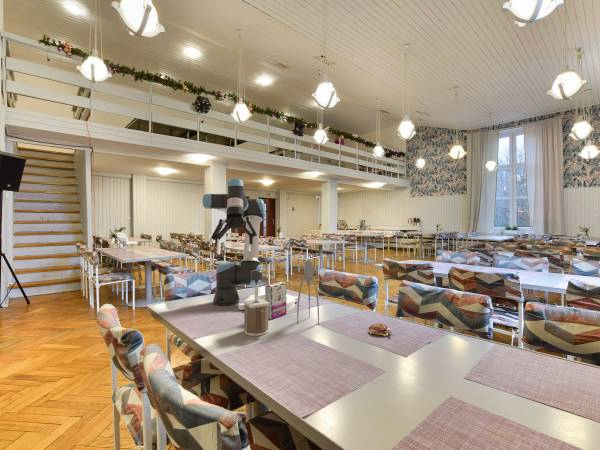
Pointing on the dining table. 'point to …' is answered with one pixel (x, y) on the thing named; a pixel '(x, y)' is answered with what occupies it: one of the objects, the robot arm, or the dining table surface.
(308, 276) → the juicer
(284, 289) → the candy bar box
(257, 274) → the dark knobbed rod
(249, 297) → the white circle with bar
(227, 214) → the robot arm
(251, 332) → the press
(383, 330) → the hamburger
